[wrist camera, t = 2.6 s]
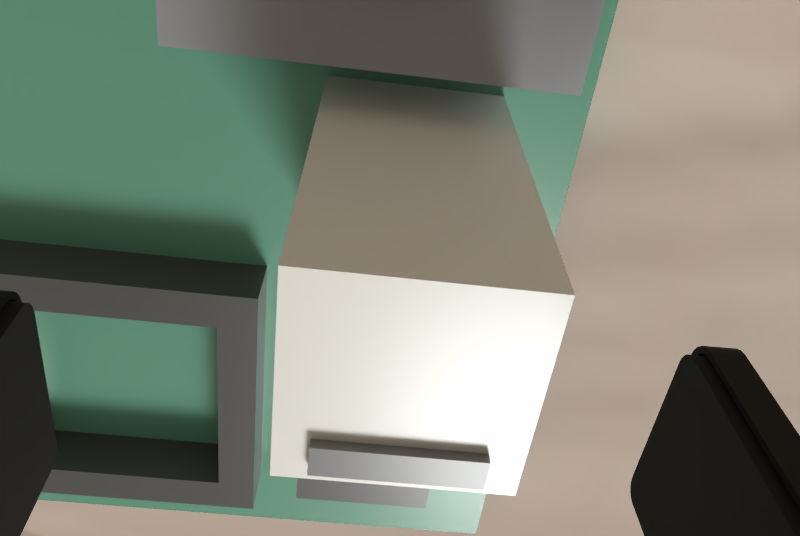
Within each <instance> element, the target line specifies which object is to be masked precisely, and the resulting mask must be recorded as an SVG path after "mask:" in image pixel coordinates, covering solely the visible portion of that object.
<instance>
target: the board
mask: <svg viewBox="0 0 800 536" xmlns="http://www.w3.org/2000/svg"><path fill="white" fill-rule="evenodd" d="M617 4H618V0H0V290H5V291H14V292H16V293H18V295H19V296H20V298H21V301H22V302H23V303H30V304H31V305H32V306H33V309H34V312H35V318H36V324H37V329H38V335H39V341H40V347H41V353H42V359H43V365H44V370H45V376H46V382H47V388H48V394H49V400H50V406H51V411H52V417H53V423H54V429H55V435H56V441H57V452H56V458H55V462H54V465H53V468H52V470H51V472H50V475H49V477H48V479H47V481H46V483H45V485H44V487H43V489H42V491H41V493H40V495H39V497H38V500H51V501H64V502H76V503H89V504H102V505H115V506H127V507H140V508H153V509H166V510H178V511H191V512H204V513H217V514H229V515H242V516H255V517H268V518H280V519H293V520H306V521H319V522H331V523H344V524H357V525H370V526H382V527H395V528H408V529H421V530H433V531H446V532H459V533H472V534H476V530H477V526H478V523H479V519H480V515H481V511H482V508H483V504H484V500H485V497H486V493H475V492H463V491H451V490H438V489H426V488H414V487H402V486H390V485H378V484H365V483H353V482H341V481H329V480H317V479H304V478H292V477H280V476H270V459H271V434H272V409H273V384H274V359H275V334H276V309H277V284H278V264H279V261H280V257H281V253H282V249H283V245H284V241H285V237H286V233H287V230H288V226H289V222H290V218H291V214H292V210H293V206H294V203H295V199H296V195H297V191H298V187H299V183H300V179H301V175H302V172H303V168H304V164H305V160H306V156H307V152H308V148H309V145H310V141H311V137H312V133H313V129H314V125H315V121H316V117H317V114H318V110H319V106H320V102H321V98H322V94H323V90H324V86H325V83H326V79H327V75H329V76H338V77H346V78H354V79H363V80H371V81H380V82H388V83H397V84H405V85H414V86H422V87H431V88H439V89H448V90H456V91H465V92H473V93H482V94H490V95H498V96H504V98H505V101H506V104H507V106H508V109H509V112H510V115H511V118H512V120H513V123H514V126H515V129H516V132H517V134H518V137H519V140H520V143H521V146H522V148H523V151H524V154H525V157H526V160H527V162H528V165H529V168H530V171H531V174H532V176H533V179H534V182H535V185H536V188H537V190H538V193H539V196H540V199H541V202H542V204H543V207H544V210H545V213H546V216H547V218H548V221H549V224H550V227H551V230H552V232H553V235H554V238H555V235H556V231H557V228H558V224H559V220H560V216H561V213H562V209H563V205H564V202H565V198H566V194H567V190H568V187H569V183H570V179H571V175H572V172H573V168H574V164H575V160H576V157H577V153H578V149H579V146H580V142H581V138H582V134H583V131H584V127H585V123H586V119H587V116H588V112H589V108H590V104H591V101H592V97H593V93H594V90H595V86H596V82H597V78H598V75H599V71H600V67H601V63H602V60H603V56H604V52H605V48H606V45H607V41H608V37H609V34H610V30H611V26H612V22H613V19H614V15H615V11H616V7H617Z"/></svg>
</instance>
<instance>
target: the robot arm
mask: <svg viewBox="0 0 800 536" xmlns="http://www.w3.org/2000/svg"><path fill="white" fill-rule="evenodd" d="M56 452H57V441H56V435H55V429H54V423H53V417H52V411H51V406H50V400H49V394H48V388H47V382H46V376H45V370H44V365H43V359H42V353H41V347H40V341H39V335H38V329H37V324H36V318H35V312H34V309H33V306H32V305H31V304H30V303H23V302H22V301H21V298H20V296H19V295H18V293H16V292H14V291H5V290H0V536H20V535H21V533H22V531H23V529H24V527H25V525H26V522H27V520H28V518H29V516H30V514H31V512H32V510H33V508H34V506H35V504H36V502H37V500H38V497H39V495H40V493H41V491H42V489H43V487H44V485H45V483H46V481H47V479H48V477H49V475H50V472H51V470H52V468H53V465H54V462H55V458H56ZM631 499H632V503H633V506H634V509H635V511H636V514H637V517H638V519H639V522H640V525H641V528H642V530H643V533H644V536H800V436H799V434H798V433H797V431H796V430H795V428H794V427H793V425H792V424H791V422H790V421H789V419H788V418H787V417H786V415H785V414H784V412H783V411H782V409H781V408H780V406H779V405H778V403H777V402H776V400H775V399H774V397H773V396H772V394H771V393H770V391H769V390H768V388H767V387H766V385H765V384H764V382H763V381H762V379H761V378H760V376H759V375H758V373H757V372H756V370H755V369H754V367H753V366H752V364H751V363H750V362H749V360H748V359H747V357H746V356H745V354H744V353H743V352H742V351H741V350H738V349H733V348H721V347H708V346H700V347H697V348H696V349H695V350H694V351H693V353H692V355H685V356H684V357H683V358H682V359H681V361H680V363H679V365H678V367H677V370H676V372H675V375H674V377H673V380H672V382H671V385H670V387H669V389H668V392H667V394H666V397H665V399H664V402H663V404H662V406H661V409H660V411H659V414H658V416H657V419H656V421H655V424H654V426H653V428H652V431H651V433H650V436H649V438H648V441H647V443H646V445H645V448H644V450H643V453H642V455H641V458H640V460H639V462H638V465H637V467H636V470H635V472H634V475H633V477H632V481H631Z"/></svg>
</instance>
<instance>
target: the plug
mask: <svg viewBox="0 0 800 536" xmlns="http://www.w3.org/2000/svg"><path fill="white" fill-rule="evenodd" d="M574 297H575V294H574V291H573V288H572V286H571V283H570V280H569V277H568V274H567V272H566V269H565V266H564V263H563V260H562V258H561V255H560V252H559V249H558V246H557V244H556V241H555V238H554V235H553V232H552V230H551V227H550V224H549V221H548V218H547V216H546V213H545V210H544V207H543V204H542V202H541V199H540V196H539V193H538V190H537V188H536V185H535V182H534V179H533V176H532V174H531V171H530V168H529V165H528V162H527V160H526V157H525V154H524V151H523V148H522V146H521V143H520V140H519V137H518V134H517V132H516V129H515V126H514V123H513V120H512V118H511V115H510V112H509V109H508V106H507V104H506V101H505V98H504V96H498V95H490V94H482V93H473V92H465V91H456V90H448V89H439V88H431V87H422V86H414V85H405V84H397V83H388V82H380V81H371V80H363V79H354V78H346V77H338V76H329V75H327V79H326V83H325V86H324V90H323V94H322V98H321V102H320V106H319V110H318V114H317V117H316V121H315V125H314V129H313V133H312V137H311V141H310V145H309V148H308V152H307V156H306V160H305V164H304V168H303V172H302V175H301V179H300V183H299V187H298V191H297V195H296V199H295V203H294V206H293V210H292V214H291V218H290V222H289V226H288V230H287V233H286V237H285V241H284V245H283V249H282V253H281V257H280V261H279V264H278V284H277V309H276V334H275V359H274V384H273V409H272V434H271V459H270V476H280V477H292V478H304V479H317V480H329V481H341V482H353V483H365V484H378V485H390V486H402V487H414V488H426V489H438V490H451V491H463V492H475V493H487V494H499V495H511V496H515V495H516V491H517V488H518V484H519V481H520V478H521V474H522V471H523V468H524V464H525V461H526V458H527V454H528V451H529V448H530V444H531V441H532V438H533V434H534V431H535V428H536V424H537V421H538V418H539V414H540V411H541V407H542V404H543V401H544V397H545V394H546V391H547V387H548V384H549V381H550V377H551V374H552V371H553V367H554V364H555V361H556V357H557V354H558V351H559V347H560V344H561V341H562V337H563V334H564V331H565V327H566V324H567V320H568V317H569V314H570V310H571V307H572V304H573V300H574Z"/></svg>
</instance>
